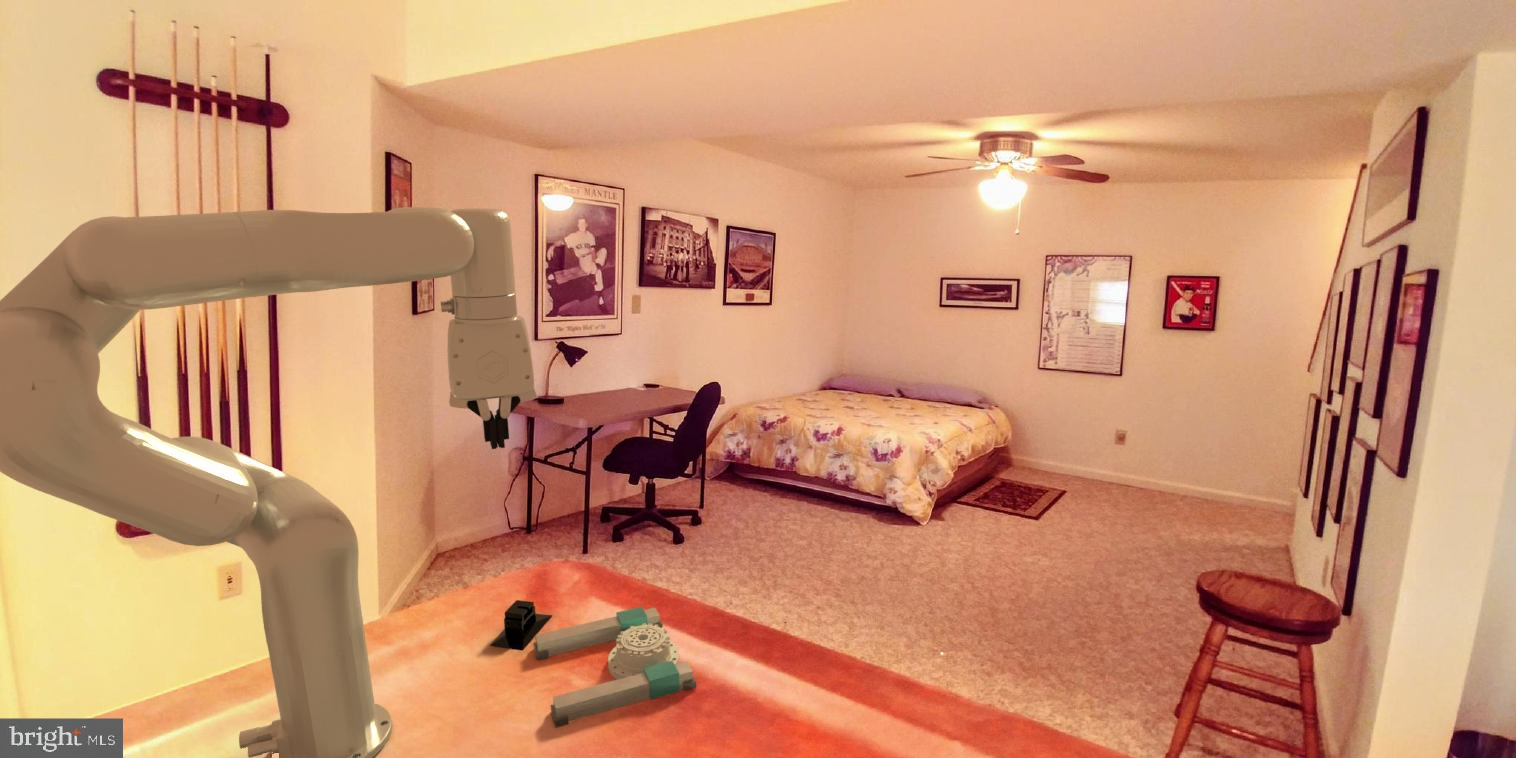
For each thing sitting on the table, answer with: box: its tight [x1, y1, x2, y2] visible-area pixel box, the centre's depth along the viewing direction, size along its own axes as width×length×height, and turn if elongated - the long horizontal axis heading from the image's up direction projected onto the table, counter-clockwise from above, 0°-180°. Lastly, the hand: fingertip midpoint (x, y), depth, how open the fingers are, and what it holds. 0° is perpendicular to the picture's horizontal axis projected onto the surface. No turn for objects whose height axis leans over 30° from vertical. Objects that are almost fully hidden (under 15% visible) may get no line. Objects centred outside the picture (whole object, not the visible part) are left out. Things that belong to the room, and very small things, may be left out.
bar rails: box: [532, 606, 697, 729], centre depth 103 cm, size 19×18×3 cm
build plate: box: [489, 599, 553, 652], centre depth 111 cm, size 12×7×5 cm, turn 169°
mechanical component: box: [607, 623, 680, 680], centre depth 104 cm, size 10×4×10 cm
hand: (497, 445), depth 98 cm, fingers closed
